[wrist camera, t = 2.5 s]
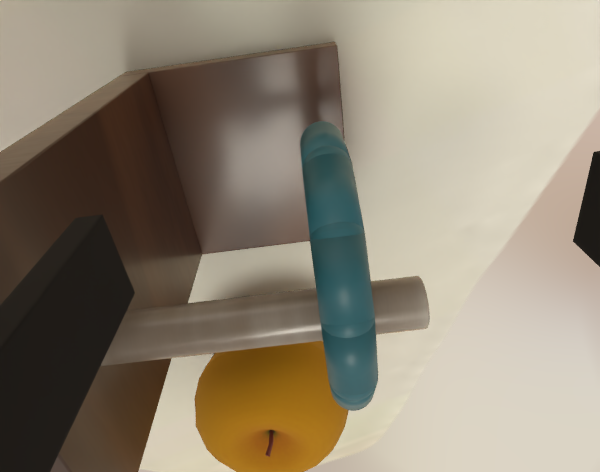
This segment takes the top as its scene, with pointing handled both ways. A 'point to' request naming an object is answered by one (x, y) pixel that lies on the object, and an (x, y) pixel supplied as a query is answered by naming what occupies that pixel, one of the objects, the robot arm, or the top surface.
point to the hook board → (180, 220)
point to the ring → (340, 266)
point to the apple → (269, 408)
